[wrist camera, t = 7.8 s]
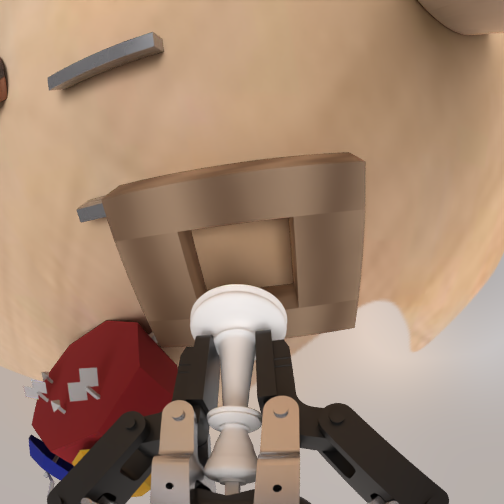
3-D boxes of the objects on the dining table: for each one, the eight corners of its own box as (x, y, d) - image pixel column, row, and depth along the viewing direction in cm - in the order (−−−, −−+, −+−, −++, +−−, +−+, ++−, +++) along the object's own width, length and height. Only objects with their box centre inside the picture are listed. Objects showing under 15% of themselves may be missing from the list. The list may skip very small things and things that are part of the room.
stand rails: (162, 38, 13) (152, 32, 12) (189, 192, 19) (182, 202, 17) (63, 77, 14) (47, 77, 12) (93, 211, 19) (80, 222, 17)
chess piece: (180, 287, 13) (124, 504, 4) (285, 279, 13) (321, 515, 4) (201, 354, 15) (180, 523, 7) (287, 349, 15) (306, 524, 7)
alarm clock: (101, 368, 29) (55, 511, 11) (53, 319, 25) (-21, 467, 7) (199, 344, 26) (174, 554, 8) (146, 276, 22) (56, 526, 5)
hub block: (348, 152, 17) (365, 161, 15) (345, 304, 24) (354, 327, 21) (119, 185, 18) (101, 199, 16) (167, 323, 25) (160, 347, 22)
